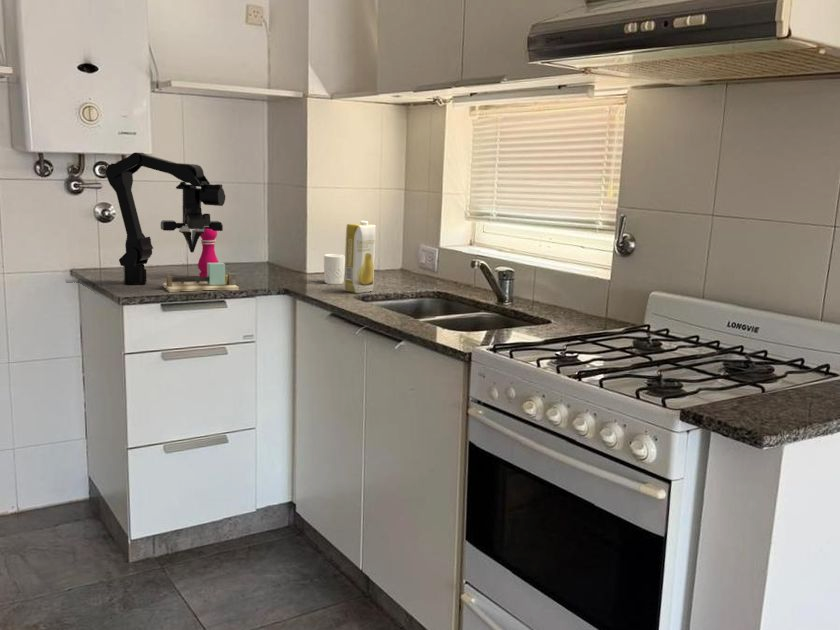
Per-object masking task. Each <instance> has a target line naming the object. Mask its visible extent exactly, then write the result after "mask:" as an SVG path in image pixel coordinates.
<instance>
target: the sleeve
mask: <svg viewBox="0 0 840 630" xmlns="http://www.w3.org/2000/svg"><path fill="white" fill-rule="evenodd" d="M225 275H226V264H225V263H224V262H219V263H207V277H209V281H206V282H207V283H209V285H225Z"/></svg>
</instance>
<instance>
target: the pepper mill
mask: <svg viewBox="0 0 840 630" xmlns="http://www.w3.org/2000/svg"><path fill="white" fill-rule="evenodd" d="M204 232H205V233H202V234H201V235H200V237H199V238H201V240H200V241H201V243H200V244H201V247H202V251H201V254H200V257H199V260H198V263H197V269H198V270H199V271H200V272H199V276H198V277H207V263H220V262H219V259H218V258H217V254H216V250H215V245H216V244H217V243H216V241H217V240H216V238H217V237H218V231H213V230H212V229H204Z"/></svg>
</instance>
